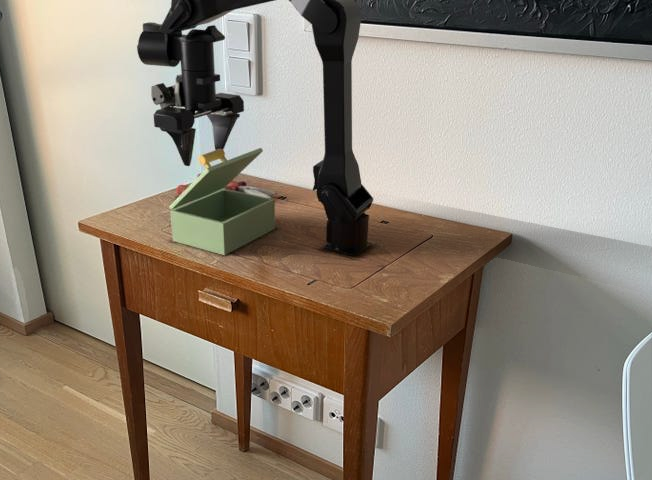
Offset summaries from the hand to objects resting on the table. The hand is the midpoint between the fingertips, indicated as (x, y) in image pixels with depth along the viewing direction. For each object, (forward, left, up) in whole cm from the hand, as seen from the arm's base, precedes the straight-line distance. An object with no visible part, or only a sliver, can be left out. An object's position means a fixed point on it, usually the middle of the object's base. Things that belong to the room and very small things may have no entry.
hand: (203, 159), depth 133 cm
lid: (-5, +3, -2) cm, 6 cm away
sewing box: (-6, +3, -12) cm, 14 cm away
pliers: (+8, -14, -12) cm, 21 cm away
